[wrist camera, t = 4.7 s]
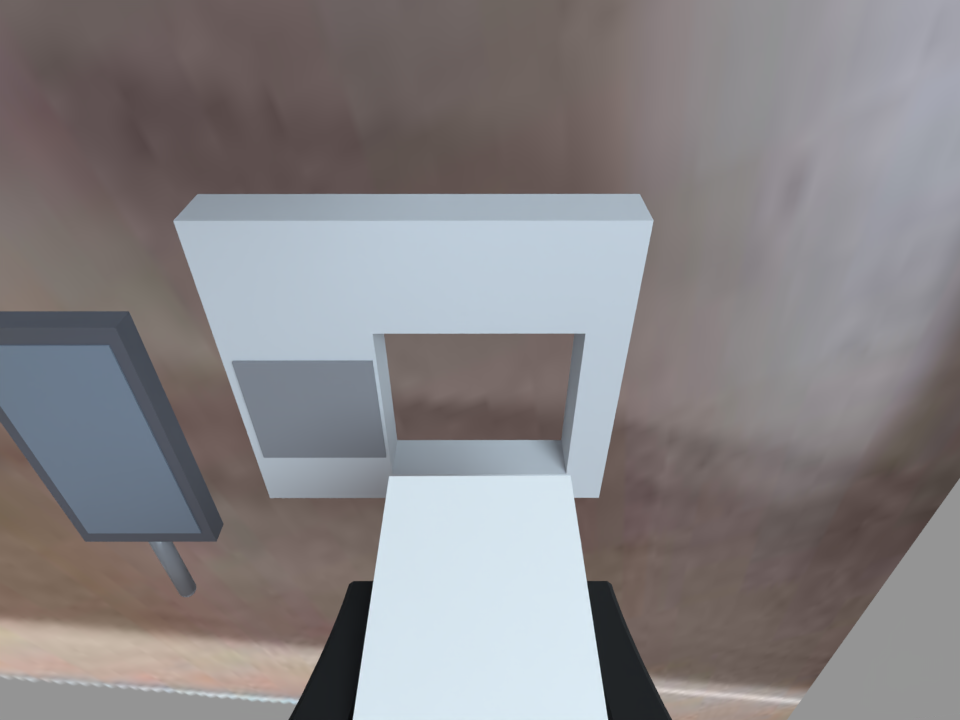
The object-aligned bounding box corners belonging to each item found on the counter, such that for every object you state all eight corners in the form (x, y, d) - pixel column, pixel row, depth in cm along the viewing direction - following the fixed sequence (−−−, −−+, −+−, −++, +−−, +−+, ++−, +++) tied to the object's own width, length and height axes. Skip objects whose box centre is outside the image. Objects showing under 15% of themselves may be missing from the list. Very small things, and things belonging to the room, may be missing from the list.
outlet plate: (281, 463, 21) (269, 500, 20) (197, 193, 15) (171, 222, 13) (592, 463, 21) (599, 500, 20) (639, 194, 15) (654, 222, 13)
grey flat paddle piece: (136, 584, 26) (127, 602, 25) (-47, 311, 17) (-68, 329, 16) (250, 584, 26) (244, 602, 25) (128, 310, 17) (114, 328, 16)
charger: (404, 575, 16) (368, 915, 10) (388, 476, 13) (331, 861, 8) (556, 574, 16) (594, 914, 10) (570, 475, 13) (629, 860, 8)
